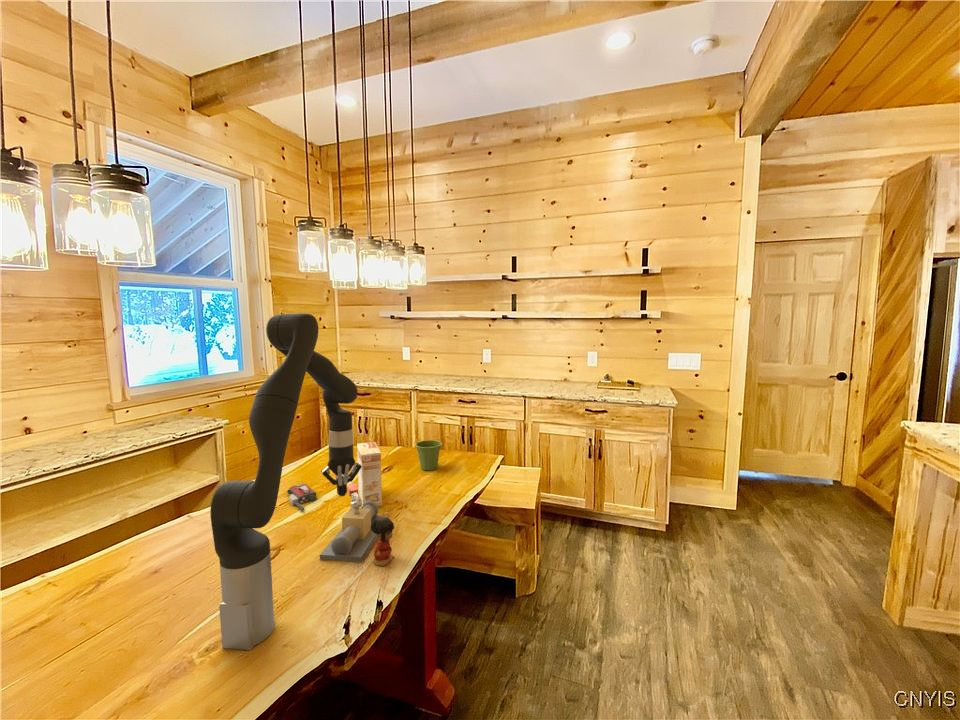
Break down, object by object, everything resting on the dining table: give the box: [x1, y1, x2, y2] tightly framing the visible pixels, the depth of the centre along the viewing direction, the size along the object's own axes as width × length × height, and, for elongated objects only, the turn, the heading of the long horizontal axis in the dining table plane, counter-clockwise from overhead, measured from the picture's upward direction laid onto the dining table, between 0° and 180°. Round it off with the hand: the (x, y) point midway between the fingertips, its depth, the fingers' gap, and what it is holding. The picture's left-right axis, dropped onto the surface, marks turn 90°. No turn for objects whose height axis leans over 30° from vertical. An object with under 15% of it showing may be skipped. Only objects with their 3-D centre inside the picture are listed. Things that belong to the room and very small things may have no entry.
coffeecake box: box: [356, 441, 383, 507], centre depth 153 cm, size 15×7×20 cm, turn 22°
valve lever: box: [347, 482, 362, 508], centre depth 131 cm, size 16×3×2 cm, turn 22°
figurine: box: [371, 517, 395, 567], centre depth 114 cm, size 6×6×12 cm
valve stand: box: [319, 501, 390, 563], centre depth 126 cm, size 24×12×10 cm, turn 175°
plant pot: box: [414, 439, 443, 471], centre depth 184 cm, size 12×12×11 cm
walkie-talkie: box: [286, 483, 317, 511], centre depth 153 cm, size 9×4×20 cm
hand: (342, 495), depth 134 cm, fingers closed
